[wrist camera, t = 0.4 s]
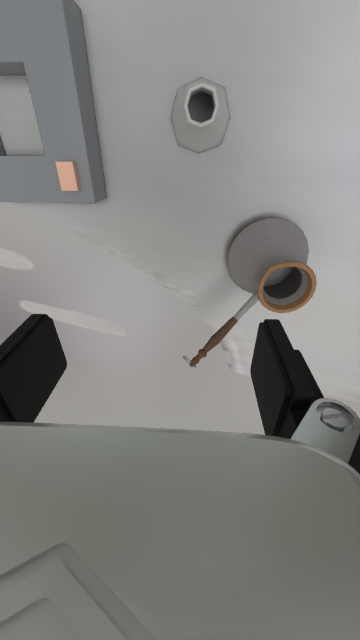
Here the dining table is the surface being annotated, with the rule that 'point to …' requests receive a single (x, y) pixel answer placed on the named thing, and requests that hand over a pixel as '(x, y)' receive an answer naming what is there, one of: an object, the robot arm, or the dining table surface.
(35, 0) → the socket block
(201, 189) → the dining table surface
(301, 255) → the coffee pot
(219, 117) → the flask
